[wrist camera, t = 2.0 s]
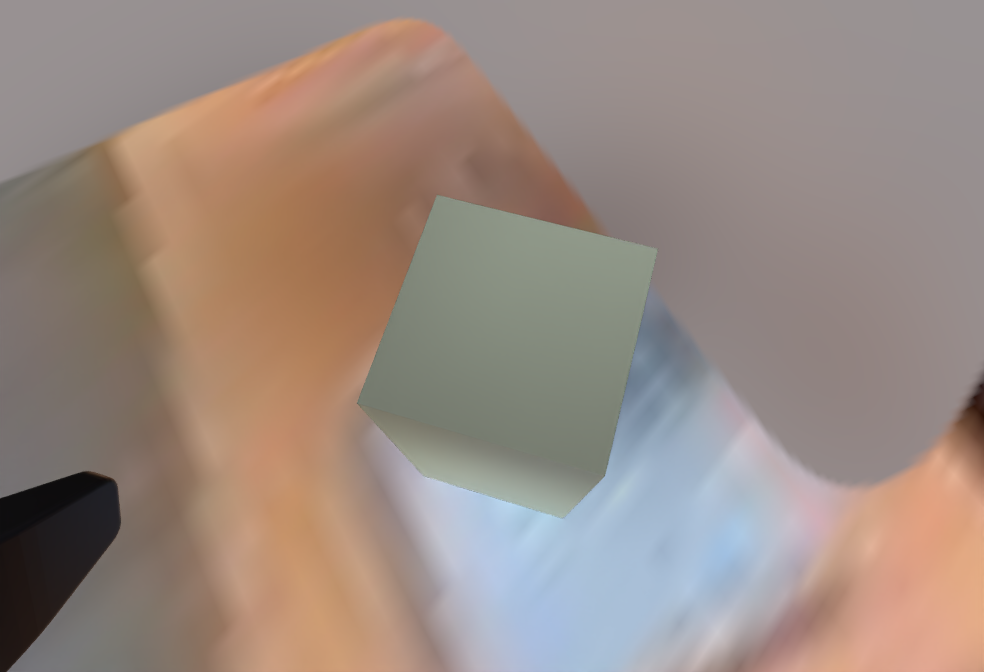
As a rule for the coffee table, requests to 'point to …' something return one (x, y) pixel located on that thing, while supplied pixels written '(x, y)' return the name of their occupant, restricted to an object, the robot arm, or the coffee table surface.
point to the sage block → (510, 354)
